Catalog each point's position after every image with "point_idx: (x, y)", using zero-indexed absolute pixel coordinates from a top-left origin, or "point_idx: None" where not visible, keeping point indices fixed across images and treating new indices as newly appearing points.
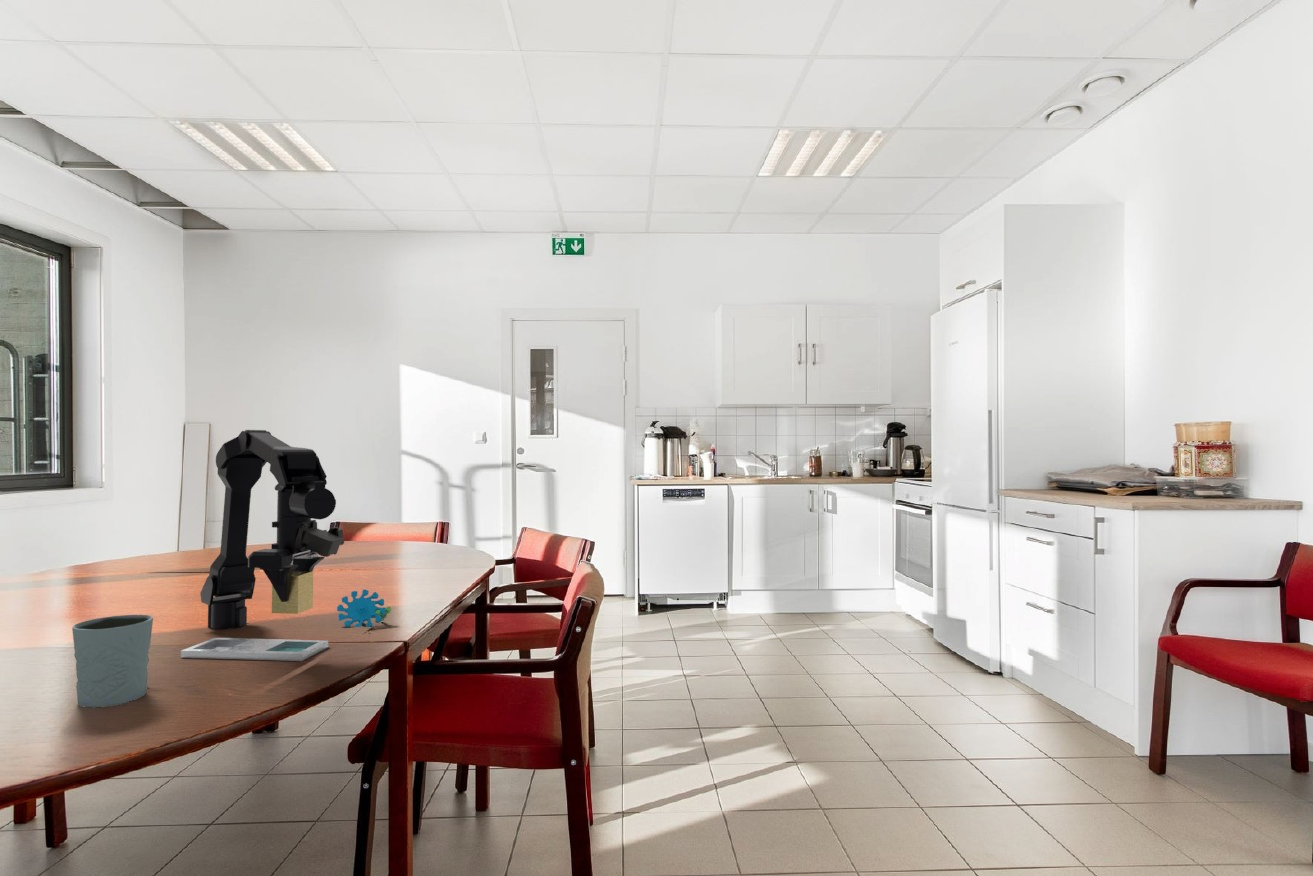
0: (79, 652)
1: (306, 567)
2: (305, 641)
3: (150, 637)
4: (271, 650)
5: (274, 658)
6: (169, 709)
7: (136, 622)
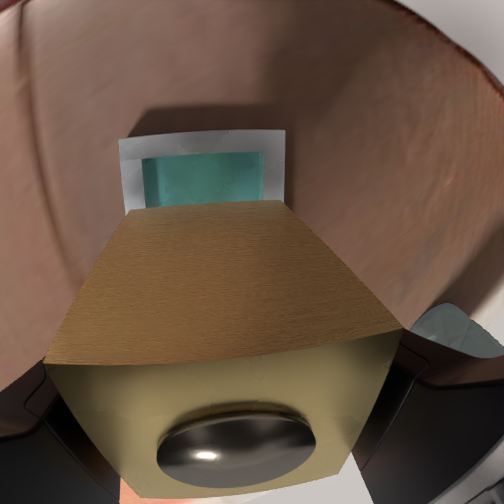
0: None
1: (55, 455)
2: (141, 208)
3: None
4: None
5: None
6: (483, 229)
7: None
